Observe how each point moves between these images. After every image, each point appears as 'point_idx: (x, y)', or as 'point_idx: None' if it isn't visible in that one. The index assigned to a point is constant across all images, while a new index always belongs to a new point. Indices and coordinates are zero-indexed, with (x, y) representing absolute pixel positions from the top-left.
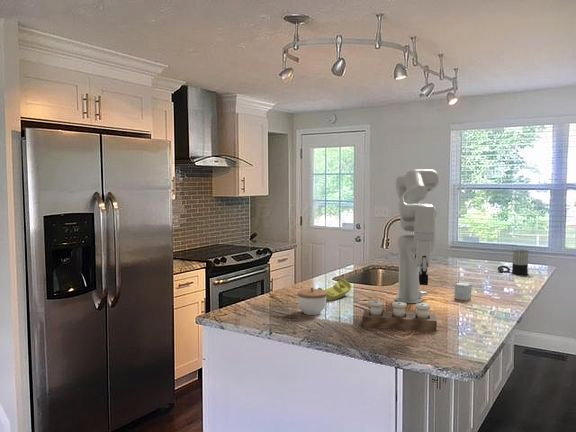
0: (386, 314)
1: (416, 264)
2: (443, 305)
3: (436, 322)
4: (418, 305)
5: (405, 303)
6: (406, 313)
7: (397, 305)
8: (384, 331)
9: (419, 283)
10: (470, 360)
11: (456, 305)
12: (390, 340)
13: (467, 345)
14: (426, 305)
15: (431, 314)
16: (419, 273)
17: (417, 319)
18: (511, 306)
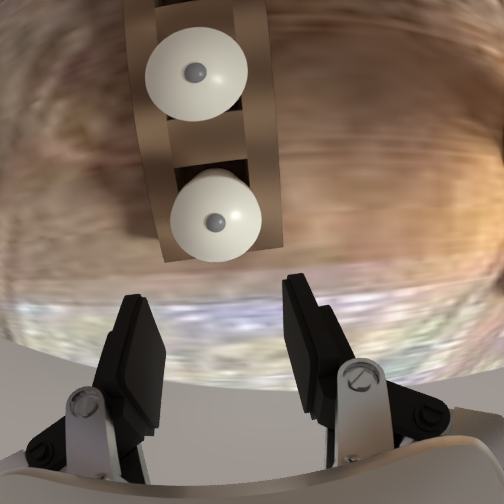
0: (194, 17)
1: (25, 498)
2: (487, 240)
3: (164, 258)
4: (189, 199)
5: (213, 112)
6: (252, 111)
7: (146, 71)
8: (90, 51)
9: (124, 301)
10: (4, 322)
11: (482, 272)
12: (8, 112)
13: (83, 324)
14: (208, 243)
15: (272, 232)
16: (305, 349)
17: (153, 180)
18: (452, 365)
